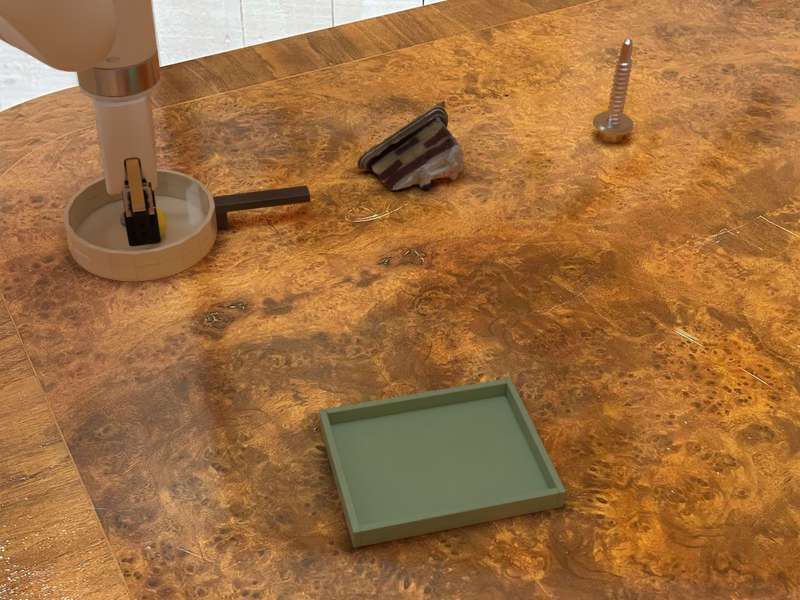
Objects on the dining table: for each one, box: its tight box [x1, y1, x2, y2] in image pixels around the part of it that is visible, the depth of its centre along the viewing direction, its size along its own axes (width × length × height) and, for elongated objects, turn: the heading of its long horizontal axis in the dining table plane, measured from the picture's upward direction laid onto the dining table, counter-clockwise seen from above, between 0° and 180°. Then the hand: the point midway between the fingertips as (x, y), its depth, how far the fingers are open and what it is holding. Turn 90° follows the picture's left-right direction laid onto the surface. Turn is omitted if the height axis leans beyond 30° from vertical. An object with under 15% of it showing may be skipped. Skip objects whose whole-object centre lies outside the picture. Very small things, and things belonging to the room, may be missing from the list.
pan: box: [63, 168, 218, 282], centre depth 110 cm, size 15×15×4 cm
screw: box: [592, 37, 635, 144], centre depth 125 cm, size 13×5×5 cm
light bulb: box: [120, 207, 167, 236], centre depth 110 cm, size 3×6×4 cm, turn 58°
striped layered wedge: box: [356, 100, 465, 192], centre depth 121 cm, size 10×7×12 cm
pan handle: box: [213, 185, 311, 231], centre depth 113 cm, size 10×2×3 cm, turn 105°
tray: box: [318, 377, 567, 549], centre depth 88 cm, size 17×13×2 cm
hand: (142, 226), depth 110 cm, fingers closed on light bulb, 4 cm apart
